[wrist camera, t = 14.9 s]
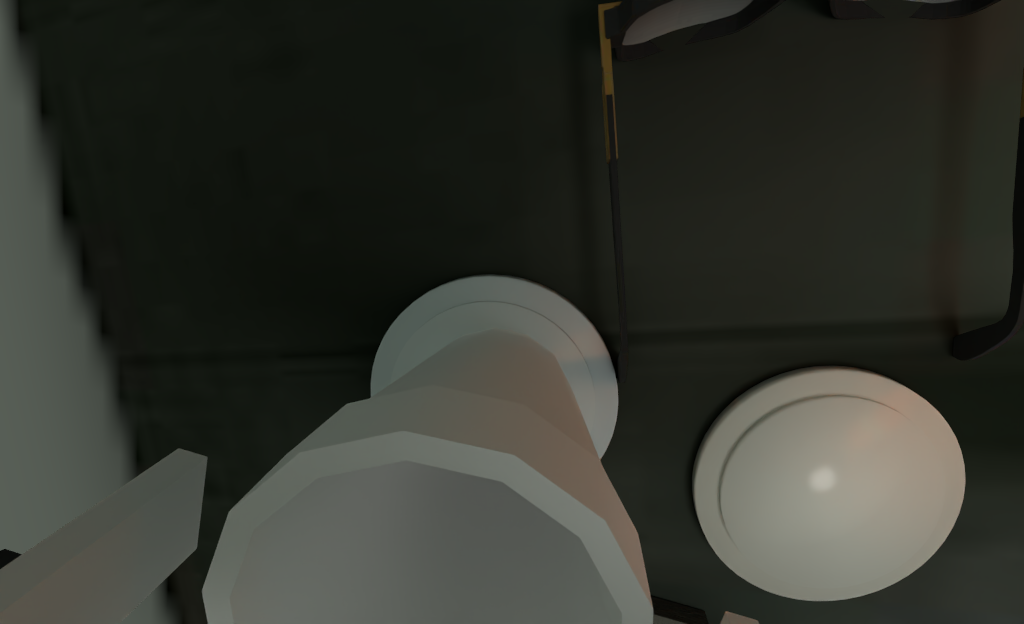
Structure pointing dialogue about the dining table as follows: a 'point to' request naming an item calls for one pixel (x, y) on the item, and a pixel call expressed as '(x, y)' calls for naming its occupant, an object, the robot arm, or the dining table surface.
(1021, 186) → the sunglasses
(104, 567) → the robot arm
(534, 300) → the dish low
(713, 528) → the dish high
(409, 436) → the foam cup
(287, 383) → the dining table surface
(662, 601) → the balance
